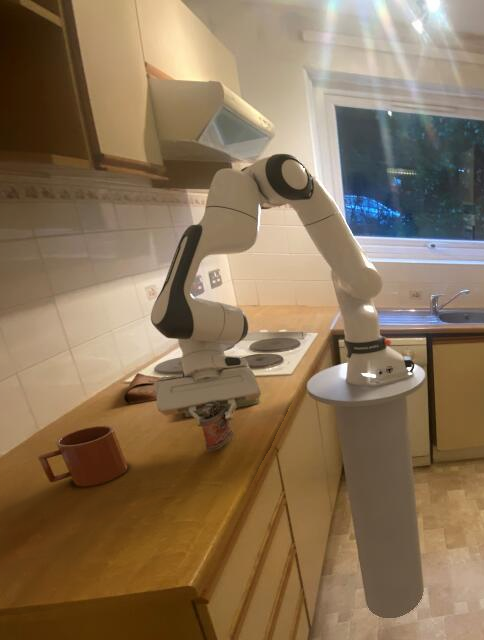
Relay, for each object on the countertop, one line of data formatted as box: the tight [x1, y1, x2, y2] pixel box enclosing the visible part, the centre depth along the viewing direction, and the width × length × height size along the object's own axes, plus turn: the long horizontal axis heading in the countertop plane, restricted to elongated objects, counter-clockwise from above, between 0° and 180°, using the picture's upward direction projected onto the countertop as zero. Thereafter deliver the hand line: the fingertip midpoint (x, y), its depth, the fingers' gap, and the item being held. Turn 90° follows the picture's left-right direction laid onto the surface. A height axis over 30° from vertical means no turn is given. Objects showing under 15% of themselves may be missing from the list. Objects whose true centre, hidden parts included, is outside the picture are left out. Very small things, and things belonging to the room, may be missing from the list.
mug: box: [37, 425, 128, 487], centre depth 90 cm, size 12×9×10 cm
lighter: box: [199, 400, 234, 451], centre depth 101 cm, size 8×3×10 cm, turn 3°
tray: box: [183, 398, 258, 418], centre depth 126 cm, size 17×13×3 cm
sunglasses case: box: [123, 372, 162, 405], centre depth 133 cm, size 18×7×7 cm
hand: (216, 422), depth 100 cm, fingers closed on lighter, 4 cm apart
